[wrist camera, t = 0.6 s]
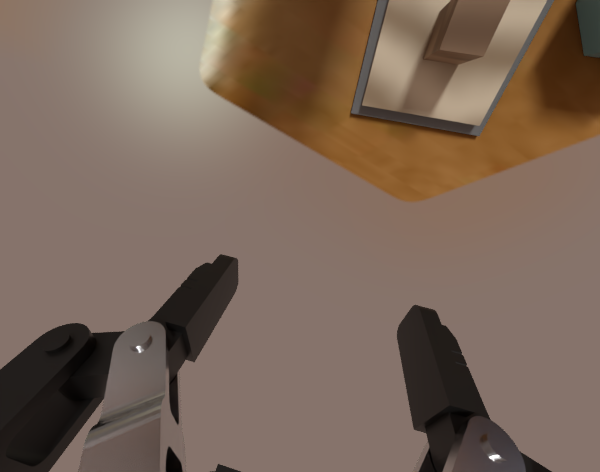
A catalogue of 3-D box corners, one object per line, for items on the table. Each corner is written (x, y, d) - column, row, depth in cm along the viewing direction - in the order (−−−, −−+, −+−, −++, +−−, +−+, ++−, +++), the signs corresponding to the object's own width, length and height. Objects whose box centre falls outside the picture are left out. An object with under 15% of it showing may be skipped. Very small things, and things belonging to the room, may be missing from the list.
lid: (406, -69, 19) (426, -130, 14) (568, -52, 18) (654, -112, 13) (361, 105, 26) (364, 106, 21) (475, 125, 25) (506, 131, 20)
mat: (398, -86, 19) (399, -89, 18) (588, -67, 17) (592, -70, 17) (351, 113, 27) (350, 113, 27) (477, 135, 26) (479, 136, 25)
